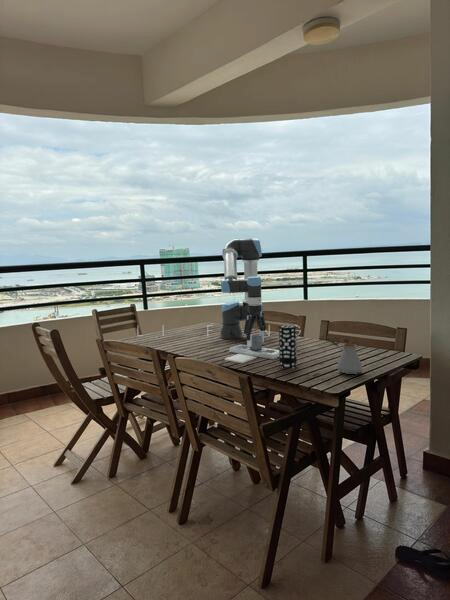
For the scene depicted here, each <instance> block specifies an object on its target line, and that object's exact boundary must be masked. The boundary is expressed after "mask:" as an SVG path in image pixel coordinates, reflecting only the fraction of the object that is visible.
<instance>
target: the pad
mask: <svg viewBox="0 0 450 600" xmlns="http://www.w3.org/2000/svg"><path fill="white" fill-rule="evenodd" d="M256 359H257V357H256V356H250V355H244V354H238V353H236V354H234V355H231V356H228V357H225V358H224V361H227V362H234V363H238V364H245V363H248V362H250V361H252V360H253V361H254V360H256Z"/></svg>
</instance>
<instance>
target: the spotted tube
mask: <svg viewBox="0 0 450 600" xmlns="http://www.w3.org/2000/svg"><path fill="white" fill-rule="evenodd" d="M278 347H279V348H278V350H279V358H278V359H279V361H278V362H279V368H281V367H283V368H282V369H284V368H292V369H295V368H294V367H296V366H298V365H297V364H298V362H297V361H298V360H297V358H298V357H297V325H294V324H281V325H279V326H278ZM296 368H297V367H296Z"/></svg>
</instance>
